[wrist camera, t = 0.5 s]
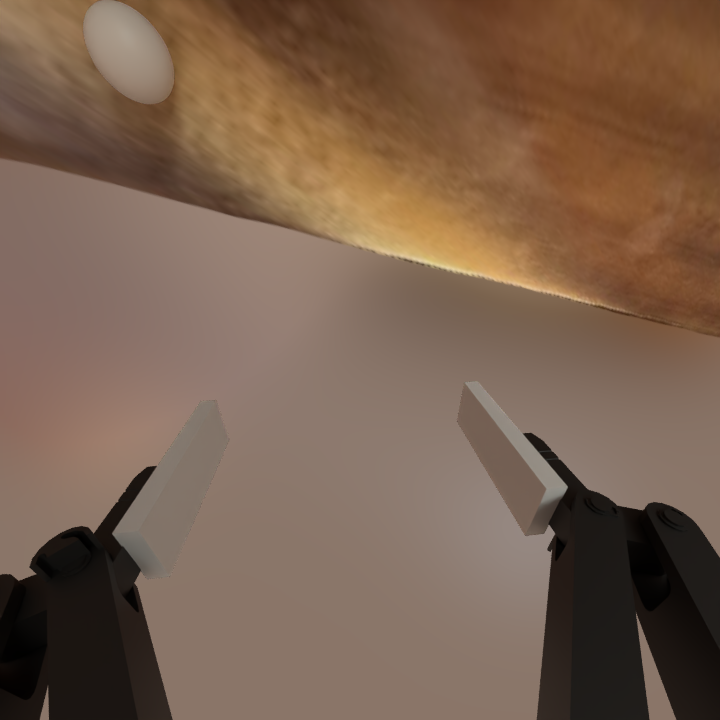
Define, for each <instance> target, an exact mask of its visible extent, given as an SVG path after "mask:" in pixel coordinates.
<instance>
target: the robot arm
mask: <svg viewBox="0 0 720 720" xmlns="http://www.w3.org/2000/svg"><path fill="white" fill-rule="evenodd" d="M457 422H458V424H459V426H460V427H461V429H462V430H463V432H464V434H465V436H466V437H467V439H468V440H469V442H470V444H471V446H472V447H473V449H474V451H475V452H476V454H477V456H478V457H479V459H480V461H481V462H482V464H483V466H484V467H485V469H486V471H487V472H488V474H489V476H490V478H491V479H492V481H493V482H494V484H495V486H496V488H497V489H498V491H499V493H500V494H501V496H502V498H503V499H504V501H505V503H506V504H507V506H508V508H509V509H510V511H511V513H512V514H513V516H514V518H515V519H516V521H517V523H518V524H519V526H520V528H521V530H522V531H523V533H524V535H525V536H529V535H538V534H544V533H545V531H546V529H547V527H548V525H550V526H551V528H552V529H553V531H554V532H555V535H554V537H553V539H552V541H551V543H550V545H549V547H548V551H550V552H551V550H552V557H551V569H550V579H549V591H548V601H547V612H546V624H545V636H544V647H543V657H542V668H541V679H540V691H539V702H538V713H537V720H649V713H648V705H647V697H646V690H645V681H644V674H643V666H642V658H641V650H640V642H639V635H638V626H637V619H636V613H637V616H638V619H639V621H640V624H641V626H642V629H643V632H644V635H645V637H646V640H647V643H648V645H649V648H650V651H651V653H652V656H653V658H654V661H655V664H656V666H657V669H658V672H659V675H660V677H661V680H662V683H663V685H664V688H665V690H666V693H667V696H668V699H669V701H670V704H671V707H672V709H673V712H674V715H675V717H676V720H720V557H719V556H718V555H717V553H716V552H715V550H714V549H713V547H712V546H711V544H710V543H709V541H708V540H707V538H706V537H705V535H704V534H703V532H702V531H701V530H700V528H699V527H698V526H697V524H696V523H695V522H694V521H693V520H692V519H691V518H690V517H688V516H687V515H686V514H684V513H683V512H681V511H679V510H678V509H676V508H674V507H672V506H669V505H666V504H663V503H657V502H653V503H649V504H648V505H647V506H646V507H645V509H644V510H637V509H632V508H627V507H621V506H617V505H616V504H615V503H614V502H613V501H611V500H610V499H609V498H607V497H605V496H604V495H602V494H600V493H597V492H594V491H591V490H588V489H587V488H586V487H585V486H584V485H583V484H582V483H581V482H580V481H579V480H578V479H577V477H576V476H575V475H574V474H573V473H572V472H571V471H570V470H569V469H568V468H567V466H566V465H565V464H564V463H563V462H562V461H561V460H559V459H558V457H557V456H556V454H555V453H554V452H552V451H551V449H550V448H549V447H548V446H547V445H546V444H545V442H544V441H542V440H541V439H540V438H538V437H537V436H535V435H534V434H532V433H524V434H522V433H521V431H520V430H519V429H518V428H517V427H516V426H515V424H514V423H513V422H512V421H511V420H510V418H509V417H508V416H507V415H506V414H505V413H504V411H503V410H502V409H501V408H500V407H499V406H498V404H497V403H496V402H495V401H494V400H493V399H492V397H491V396H490V395H489V394H488V393H487V392H486V391H485V389H484V388H483V387H482V386H481V385H480V383H479V382H477V381H474V382H464V386H463V391H462V397H461V402H460V407H459V413H458V418H457ZM228 442H229V437H228V434H227V431H226V428H225V425H224V422H223V419H222V416H221V413H220V410H219V407H218V404H217V401H216V400H211V401H201V402H200V403H199V405H198V406H197V408H196V409H195V411H194V412H193V413H192V415H191V417H190V418H189V420H188V421H187V423H186V424H185V425H184V427H183V429H182V430H181V431H180V433H179V434H178V436H177V437H176V439H175V440H174V442H173V443H172V445H171V446H170V448H169V449H168V451H167V452H166V454H165V455H164V457H163V458H162V460H161V461H160V463H159V464H158V466H152V467H147V468H146V469H144V470H143V471H142V472H141V473H139V474H138V475H137V476H136V477H135V478H134V479H133V480H132V482H131V483H130V485H129V486H128V487H127V489H126V492H124V493H123V494H122V496H121V497H120V499H119V500H118V502H117V503H116V504H115V505H114V507H113V508H112V509H111V511H110V512H109V513H108V515H107V516H106V518H105V519H104V520H103V522H102V523H101V525H100V526H99V527H98V529H97V530H96V531H95V533H94V534H93V532H92V531H91V530H90V529H89V528H88V527H83V526H80V527H74V528H71V529H69V530H66V531H64V532H62V533H60V534H58V535H57V536H55V537H54V538H52V539H51V540H49V541H48V542H47V543H46V544H45V545H44V546H43V547H41V548H40V549H39V550H38V552H37V553H36V555H35V556H34V557H33V558H32V561H31V564H30V568H31V569H32V570H33V571H34V572H35V573H36V575H33V576H30V577H28V578H25V579H23V580H20V581H18V580H17V579H16V578H15V577H13V576H12V575H10V574H9V575H8V574H2V575H0V720H40V715H41V712H42V707H43V703H44V699H45V695H46V691H47V687H48V691H49V692H48V694H49V720H172V716H171V712H170V708H169V705H168V701H167V697H166V693H165V690H164V686H163V682H162V678H161V674H160V671H159V667H158V663H157V660H156V656H155V652H154V648H153V644H152V641H151V637H150V633H149V629H148V626H147V622H146V618H145V615H144V611H143V607H142V603H141V599H140V596H139V592H138V588H137V586H136V585H135V584H134V582H135V580H136V579H137V577H138V575H139V573H140V571H141V572H142V573H143V575H144V576H145V577H146V578H147V579H154V578H163V577H170V576H171V573H172V571H173V569H174V566H175V564H176V561H177V559H178V557H179V555H180V553H181V550H182V548H183V545H184V543H185V541H186V539H187V536H188V534H189V532H190V530H191V527H192V525H193V523H194V520H195V518H196V516H197V513H198V511H199V509H200V507H201V504H202V502H203V499H204V497H205V495H206V493H207V490H208V488H209V485H210V484H211V481H212V479H213V477H214V474H215V472H216V470H217V467H218V465H219V463H220V460H221V458H222V456H223V453H224V451H225V449H226V446H227V444H228Z"/></svg>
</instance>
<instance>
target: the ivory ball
mask: <svg viewBox="0 0 720 720" xmlns="http://www.w3.org/2000/svg"><path fill="white" fill-rule="evenodd" d="M83 34H84V39H85V43H86V47H87V49H88V52H89V54H90V57H91V59H92V60H93V62H94V64H95V66H96V67H97V69H98V70H99V72H100V73H101V74H102V76H103V77H104V78H105V79H106V80H107V81H108V82H109V83H110V84H111V85H112V86H113V87H114V88H115V89H116V90H117V91H119V92H120V93H121V94H123V95H124V96H126V97H128V98H129V99H131V100H134V101H136V102H139V103H143V104H157V103H160V102H162V101H164V100H165V99H166V98H167V97H168V96H169V95H170V93H171V91H172V89H173V86H174V79H175V75H174V66H173V62H172V58H171V55H170V53H169V50H168V48H167V46H166V44H165V42H164V41H163V39H162V37H161V36H160V34H159V33H158V31H157V30H156V29H155V28H154V26H153V25H152V24H151V23H150V22H149V21H148V20H147V19H146V18H145V17H144V16H143V15H142V14H140V13H139V12H138V11H136V10H135V9H133V8H132V7H130V6H128V5H126V4H124V3H122V2H119V1H114V0H101V1H98V2H96V3H94V4H93V5H92V6H90V7H89V9H88V10H87V12H86V14H85V17H84V22H83Z"/></svg>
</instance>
